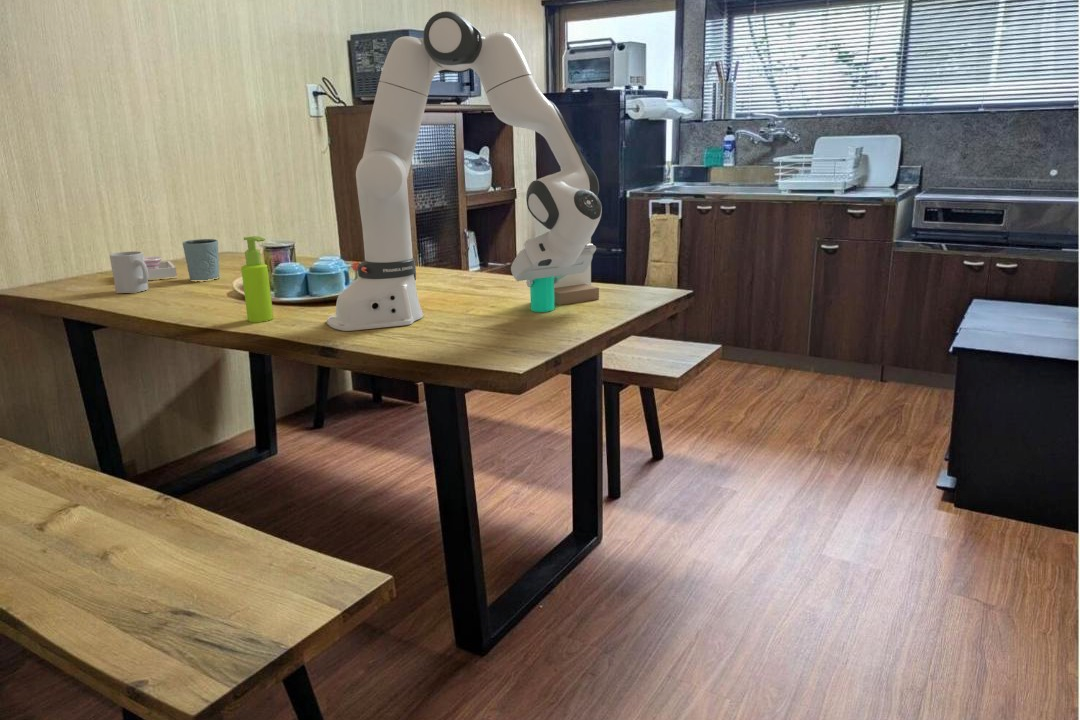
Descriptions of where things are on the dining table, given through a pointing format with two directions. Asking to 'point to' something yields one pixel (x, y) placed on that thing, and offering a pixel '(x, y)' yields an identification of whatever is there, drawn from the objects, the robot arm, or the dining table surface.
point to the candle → (542, 295)
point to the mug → (129, 272)
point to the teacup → (152, 262)
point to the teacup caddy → (163, 271)
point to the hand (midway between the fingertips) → (541, 283)
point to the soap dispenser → (256, 284)
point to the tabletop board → (571, 281)
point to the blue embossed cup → (202, 258)
